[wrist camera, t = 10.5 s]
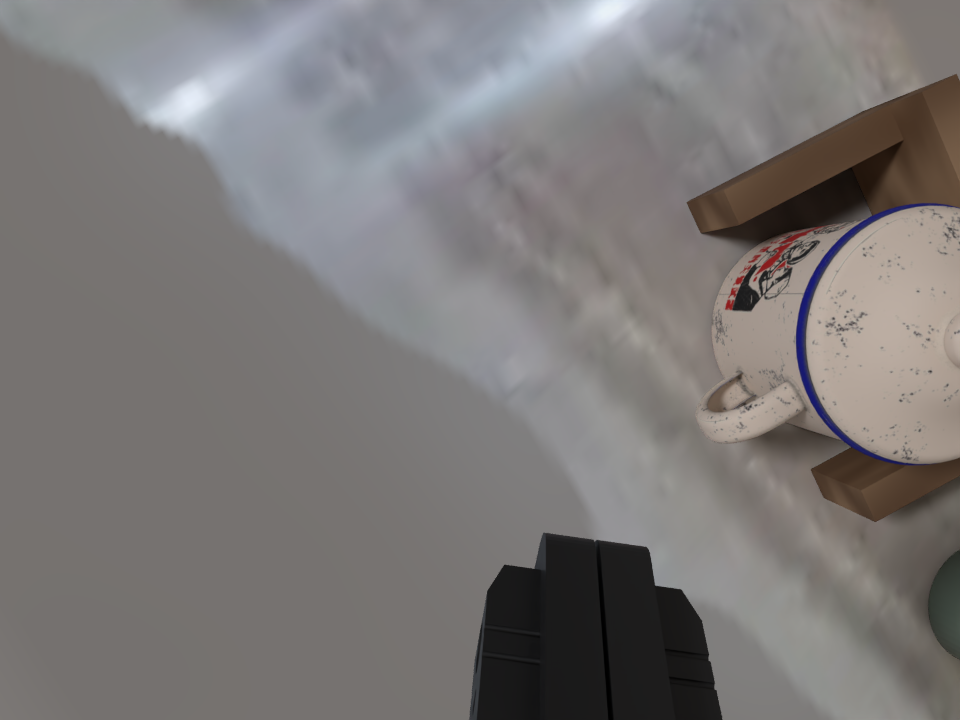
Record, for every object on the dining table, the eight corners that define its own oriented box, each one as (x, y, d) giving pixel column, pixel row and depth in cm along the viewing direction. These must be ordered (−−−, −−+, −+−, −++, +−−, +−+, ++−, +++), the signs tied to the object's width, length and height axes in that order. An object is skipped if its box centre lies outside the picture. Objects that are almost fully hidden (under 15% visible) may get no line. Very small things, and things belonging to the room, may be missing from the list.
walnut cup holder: (686, 202, 35) (745, 182, 29) (862, 111, 35) (956, 73, 29) (823, 497, 37) (906, 536, 31) (989, 407, 37) (1102, 428, 31)
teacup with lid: (838, 187, 36) (1049, 134, 24) (928, 360, 37) (1171, 389, 25) (611, 325, 35) (716, 338, 24) (708, 497, 36) (855, 591, 25)
